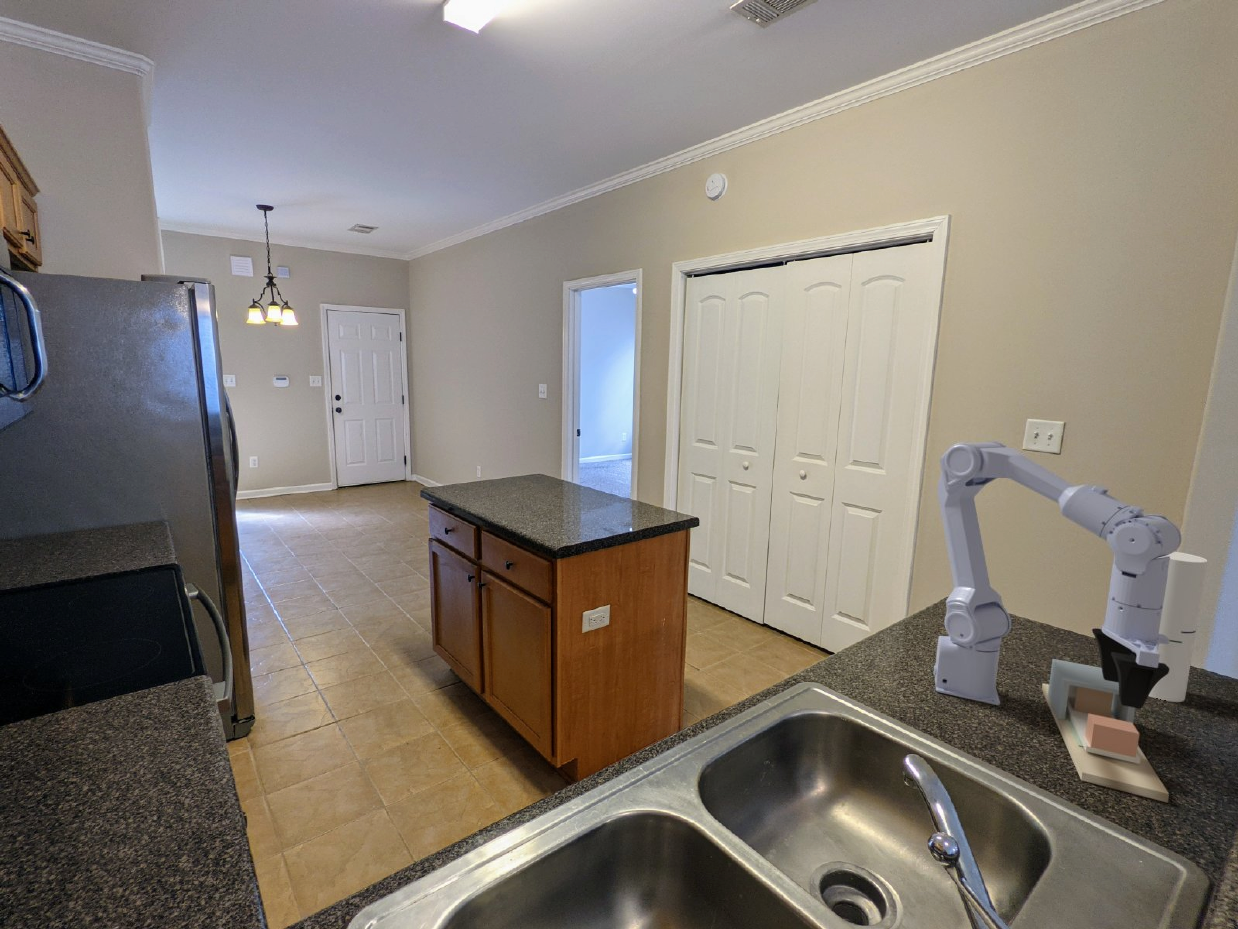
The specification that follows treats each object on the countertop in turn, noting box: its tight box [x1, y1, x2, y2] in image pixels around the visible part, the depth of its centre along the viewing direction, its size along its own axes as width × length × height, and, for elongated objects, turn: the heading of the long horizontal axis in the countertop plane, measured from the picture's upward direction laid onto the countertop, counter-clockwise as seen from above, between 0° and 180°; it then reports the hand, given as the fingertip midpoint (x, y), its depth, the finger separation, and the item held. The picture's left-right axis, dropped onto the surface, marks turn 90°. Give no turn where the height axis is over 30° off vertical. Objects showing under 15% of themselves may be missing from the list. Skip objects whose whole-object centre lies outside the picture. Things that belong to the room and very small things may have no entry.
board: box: [1041, 683, 1170, 803], centre depth 89 cm, size 9×27×1 cm, turn 153°
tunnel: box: [1048, 658, 1136, 724], centre depth 93 cm, size 9×8×8 cm
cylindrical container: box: [1148, 551, 1208, 703], centre depth 101 cm, size 7×7×25 cm
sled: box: [1066, 685, 1140, 764], centre depth 89 cm, size 6×17×5 cm, turn 153°
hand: (1121, 692), depth 82 cm, fingers open, 7 cm apart
